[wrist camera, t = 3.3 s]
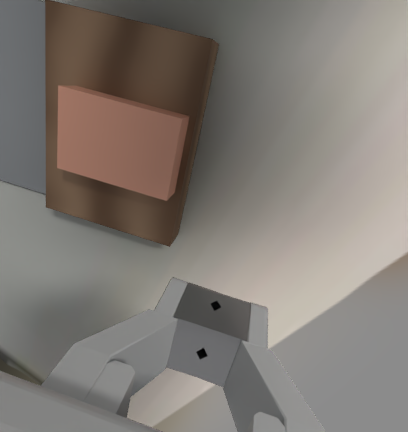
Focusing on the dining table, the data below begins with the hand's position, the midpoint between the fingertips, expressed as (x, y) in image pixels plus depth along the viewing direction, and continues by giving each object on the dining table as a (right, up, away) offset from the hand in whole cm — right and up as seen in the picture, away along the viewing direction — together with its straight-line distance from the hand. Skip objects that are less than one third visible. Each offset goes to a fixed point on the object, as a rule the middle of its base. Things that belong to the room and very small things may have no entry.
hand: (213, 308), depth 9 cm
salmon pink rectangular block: (-6, +9, +14) cm, 18 cm away
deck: (-7, +10, +16) cm, 20 cm away
